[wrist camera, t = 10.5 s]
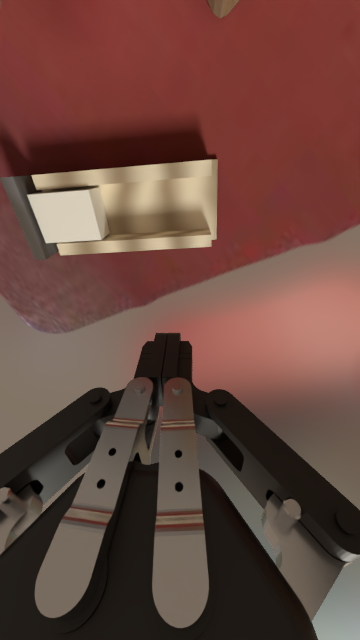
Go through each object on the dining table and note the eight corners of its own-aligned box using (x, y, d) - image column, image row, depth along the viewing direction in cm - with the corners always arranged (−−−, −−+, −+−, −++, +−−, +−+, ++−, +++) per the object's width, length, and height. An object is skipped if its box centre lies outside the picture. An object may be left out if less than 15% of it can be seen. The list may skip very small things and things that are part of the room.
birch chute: (217, 159, 30) (221, 158, 25) (216, 238, 36) (219, 249, 31) (27, 175, 32) (-1, 177, 27) (54, 248, 37) (35, 260, 33)
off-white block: (99, 187, 32) (88, 189, 28) (109, 232, 35) (101, 239, 32) (44, 191, 32) (26, 194, 29) (59, 235, 36) (45, 243, 32)
